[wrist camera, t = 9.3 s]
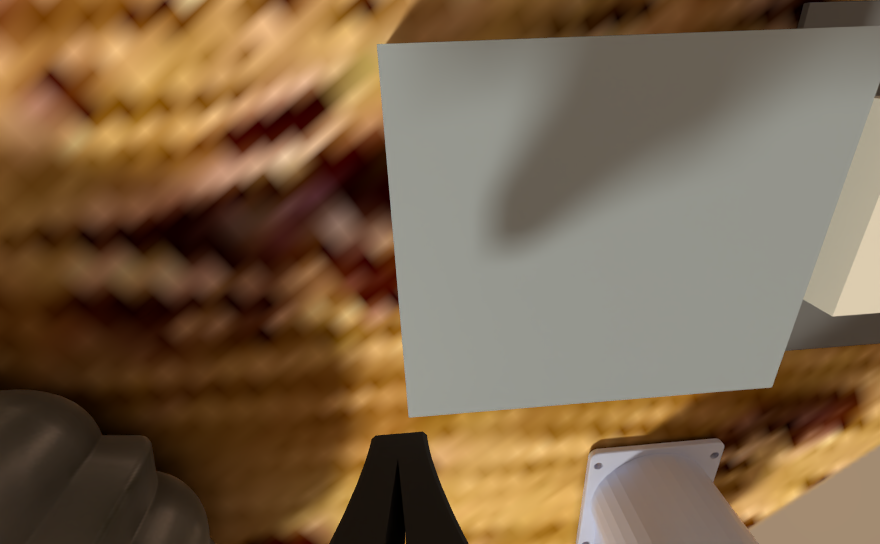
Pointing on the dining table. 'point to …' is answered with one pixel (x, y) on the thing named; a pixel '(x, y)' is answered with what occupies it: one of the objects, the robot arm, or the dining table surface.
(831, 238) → the cream rectangular block
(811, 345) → the mat
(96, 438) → the bundt pan
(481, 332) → the grey flat block
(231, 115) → the dining table surface
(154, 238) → the dining table surface
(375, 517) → the robot arm
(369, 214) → the dining table surface
